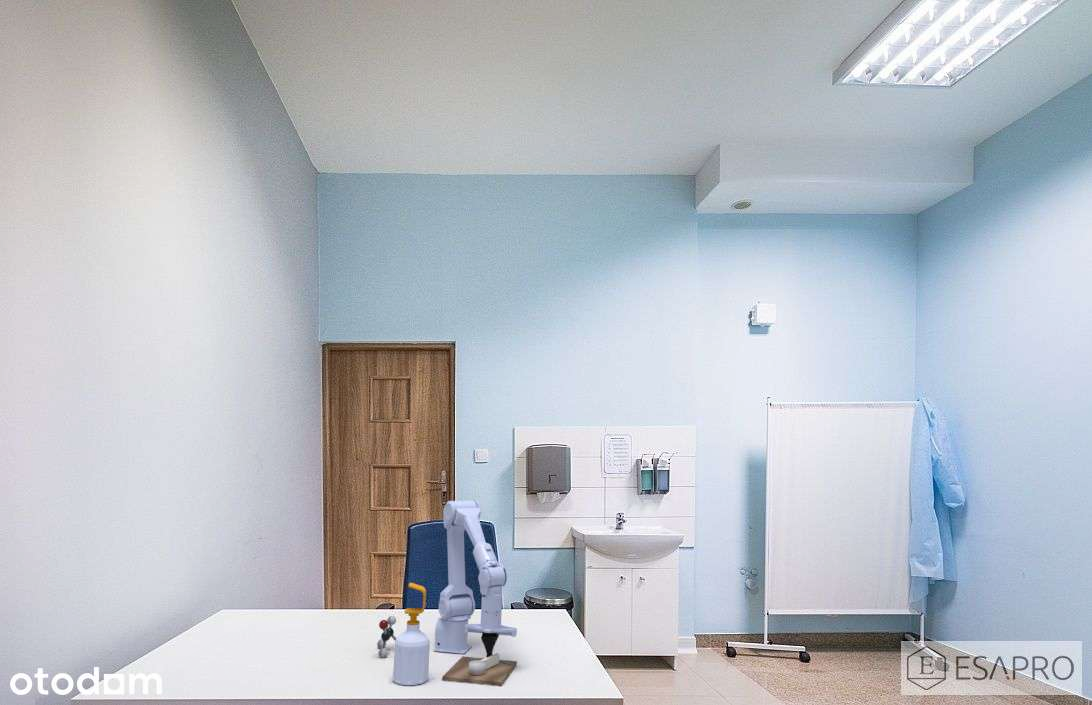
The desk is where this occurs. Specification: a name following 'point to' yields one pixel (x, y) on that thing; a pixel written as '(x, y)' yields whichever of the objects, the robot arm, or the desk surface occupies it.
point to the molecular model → (386, 635)
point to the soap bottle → (412, 649)
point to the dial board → (491, 676)
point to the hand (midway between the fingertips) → (489, 660)
